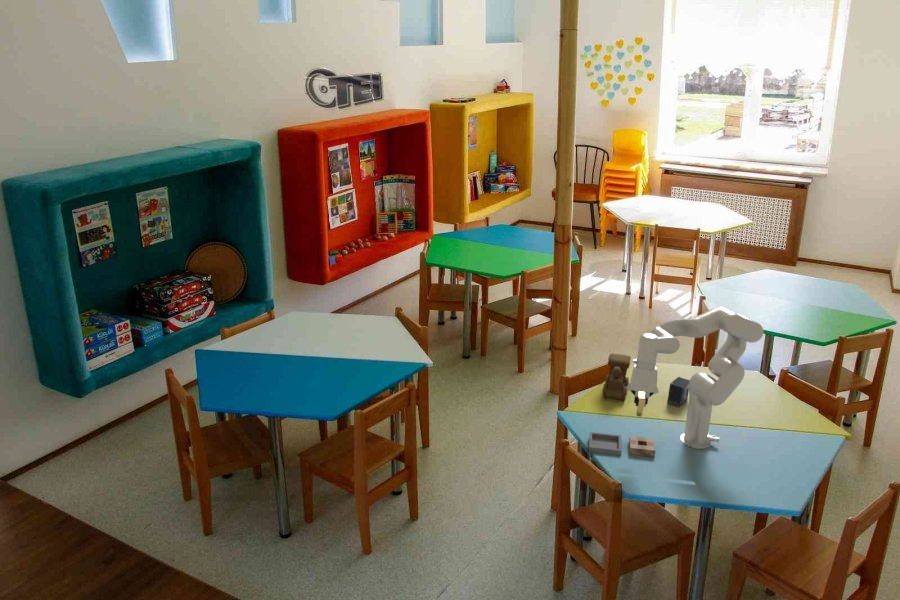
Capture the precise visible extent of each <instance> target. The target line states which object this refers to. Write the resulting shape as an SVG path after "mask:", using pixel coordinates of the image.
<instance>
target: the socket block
mask: <svg viewBox="0 0 900 600" xmlns="http://www.w3.org/2000/svg"><path fill="white" fill-rule="evenodd" d="M628 447H629V455H633V456H642V457H651V458H655V456H656V444H655V438H651V437H644V436H643V437H642V436H633V435H629V439H628Z"/></svg>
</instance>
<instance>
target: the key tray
mask: <svg viewBox="0 0 900 600" xmlns="http://www.w3.org/2000/svg"><path fill="white" fill-rule="evenodd" d="M588 439H589V440H588V443H589V444H588V454H590V455H593V452H594V453H601V454H608V455H616V456H617V455H618V456H621V455H622V451H623V450H622V449H623V448H622V435H619V434H612V433H604V432H603V433H602V432H595V431H594V432H593V431H590V432H589V438H588Z"/></svg>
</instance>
